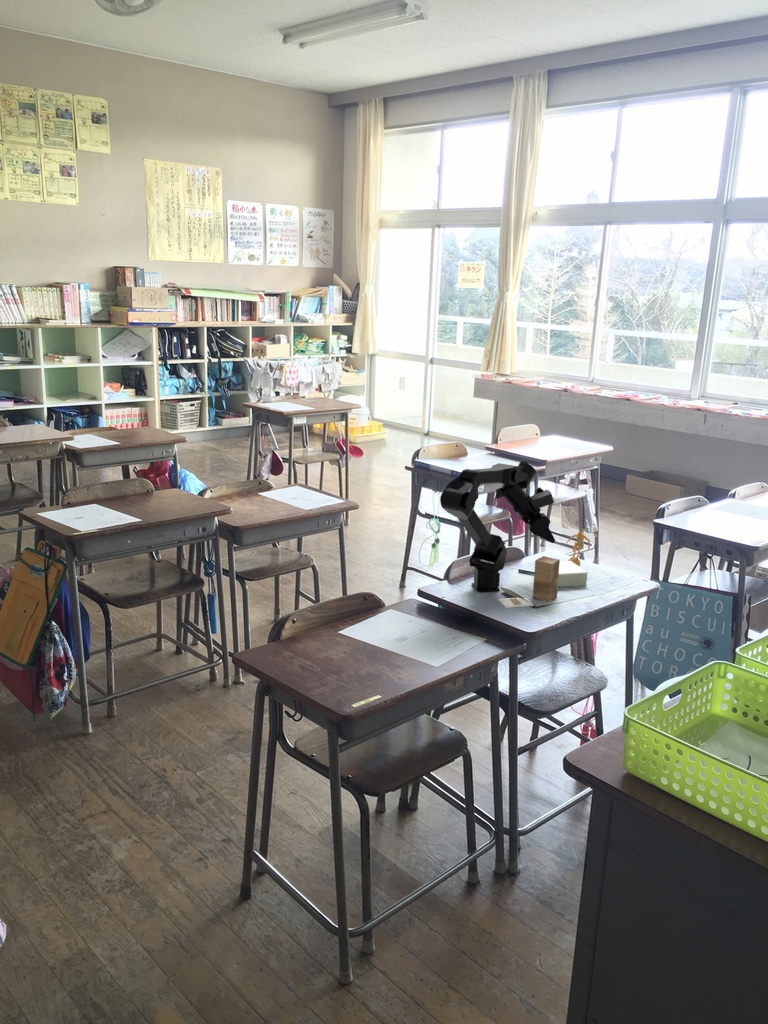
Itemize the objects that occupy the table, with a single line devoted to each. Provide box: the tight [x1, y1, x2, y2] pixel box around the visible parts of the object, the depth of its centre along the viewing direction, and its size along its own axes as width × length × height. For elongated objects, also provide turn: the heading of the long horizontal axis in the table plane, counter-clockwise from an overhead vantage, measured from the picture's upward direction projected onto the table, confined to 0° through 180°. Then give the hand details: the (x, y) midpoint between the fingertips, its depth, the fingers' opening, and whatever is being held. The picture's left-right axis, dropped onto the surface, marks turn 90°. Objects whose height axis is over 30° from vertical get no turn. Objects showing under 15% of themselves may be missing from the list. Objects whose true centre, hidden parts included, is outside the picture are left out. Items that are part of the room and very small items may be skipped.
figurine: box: [565, 531, 591, 567], centre depth 252 cm, size 8×6×12 cm
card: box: [497, 597, 534, 609], centre depth 223 cm, size 8×6×1 cm
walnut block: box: [532, 556, 561, 602], centre depth 227 cm, size 5×5×11 cm
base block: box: [558, 560, 588, 588], centre depth 243 cm, size 11×11×4 cm
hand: (550, 537), depth 241 cm, fingers open, 9 cm apart
